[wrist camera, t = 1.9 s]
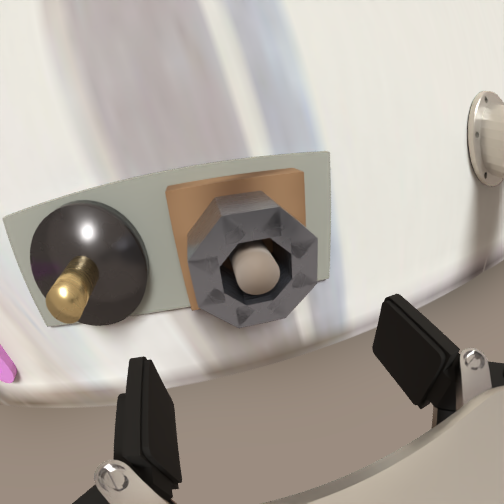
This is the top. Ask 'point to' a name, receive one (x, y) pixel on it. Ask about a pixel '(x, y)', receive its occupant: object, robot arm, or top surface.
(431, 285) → the top surface
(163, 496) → the robot arm
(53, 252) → the hub
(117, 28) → the top surface
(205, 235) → the ring
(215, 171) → the mat
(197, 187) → the stand
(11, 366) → the bracket
